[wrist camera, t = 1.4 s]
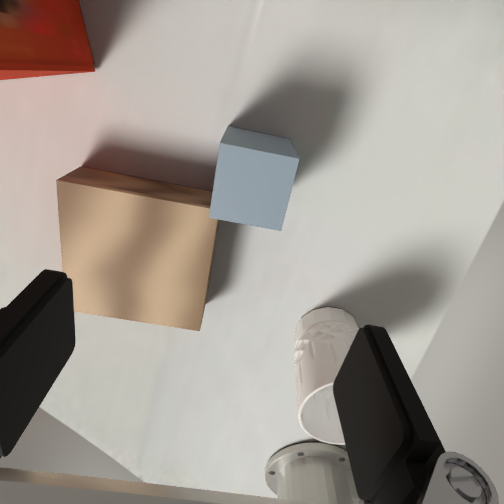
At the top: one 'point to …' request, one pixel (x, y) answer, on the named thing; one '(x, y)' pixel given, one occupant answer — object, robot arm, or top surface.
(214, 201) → the block
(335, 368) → the white cup
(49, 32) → the file binder
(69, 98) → the top surface
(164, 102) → the top surface
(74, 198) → the pedestal
